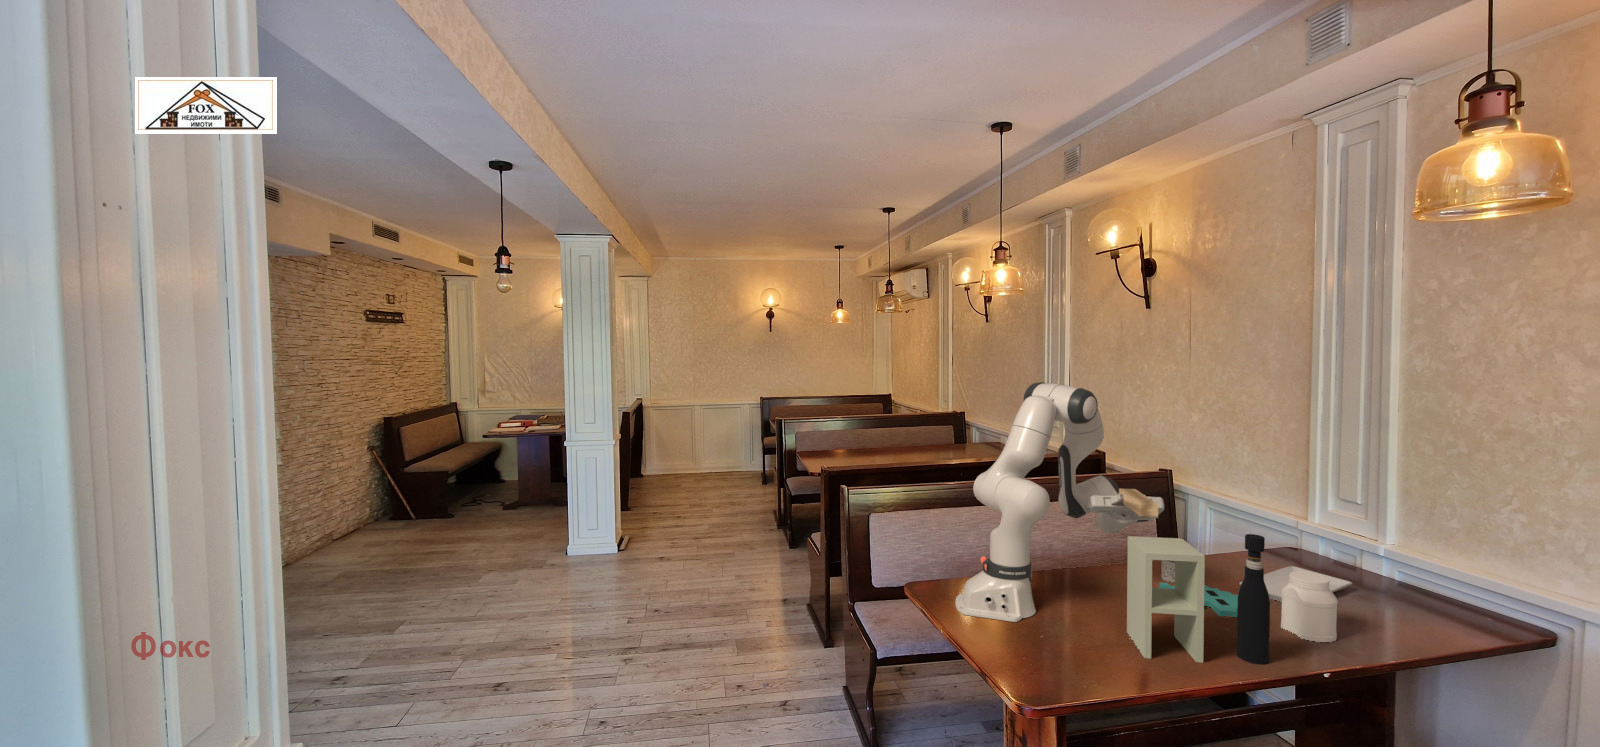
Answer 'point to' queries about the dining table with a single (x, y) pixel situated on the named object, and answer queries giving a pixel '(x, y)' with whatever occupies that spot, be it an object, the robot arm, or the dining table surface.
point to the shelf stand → (1166, 593)
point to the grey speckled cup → (1168, 571)
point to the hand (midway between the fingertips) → (1132, 497)
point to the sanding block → (1139, 503)
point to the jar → (1309, 607)
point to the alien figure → (1217, 600)
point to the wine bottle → (1253, 607)
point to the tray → (1281, 578)
